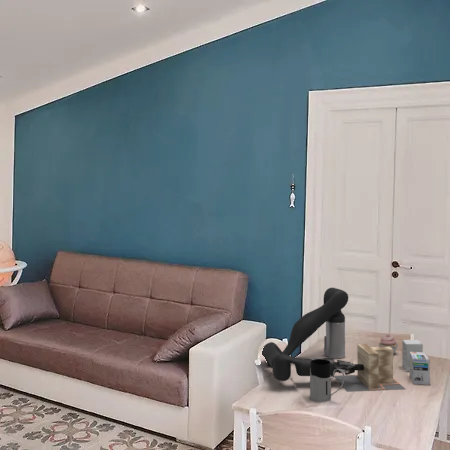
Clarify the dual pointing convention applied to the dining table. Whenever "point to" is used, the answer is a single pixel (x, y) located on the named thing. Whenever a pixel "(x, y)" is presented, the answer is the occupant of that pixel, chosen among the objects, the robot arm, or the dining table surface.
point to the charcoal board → (356, 384)
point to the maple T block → (375, 365)
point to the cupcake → (388, 342)
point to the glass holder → (321, 380)
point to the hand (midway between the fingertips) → (363, 367)
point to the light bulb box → (419, 368)
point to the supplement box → (407, 348)
